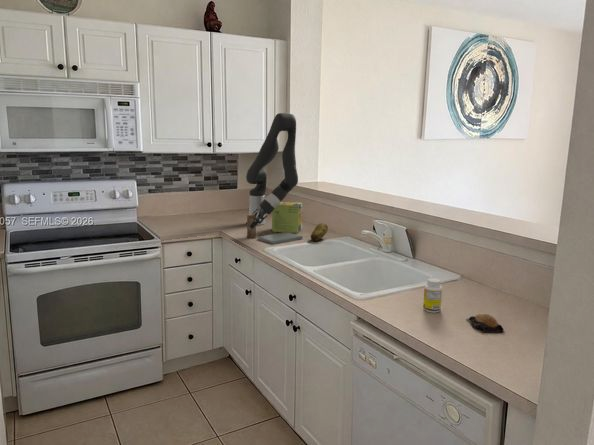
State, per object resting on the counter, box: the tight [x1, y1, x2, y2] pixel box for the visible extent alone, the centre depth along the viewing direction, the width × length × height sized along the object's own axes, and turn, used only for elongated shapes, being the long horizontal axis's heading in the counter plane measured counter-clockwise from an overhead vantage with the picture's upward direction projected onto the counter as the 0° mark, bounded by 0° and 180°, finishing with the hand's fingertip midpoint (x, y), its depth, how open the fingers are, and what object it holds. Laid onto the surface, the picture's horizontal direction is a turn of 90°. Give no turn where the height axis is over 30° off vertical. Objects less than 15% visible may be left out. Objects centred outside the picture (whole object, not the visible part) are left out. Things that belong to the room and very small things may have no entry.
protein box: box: [271, 201, 303, 234], centre depth 271 cm, size 10×15×16 cm
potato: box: [310, 223, 329, 242], centre depth 251 cm, size 8×13×8 cm, turn 134°
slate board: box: [257, 232, 303, 245], centre depth 251 cm, size 13×19×2 cm
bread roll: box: [465, 313, 506, 334], centre depth 144 cm, size 11×9×4 cm
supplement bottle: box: [423, 277, 443, 314], centre depth 155 cm, size 6×6×10 cm
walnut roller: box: [246, 213, 257, 240], centre depth 253 cm, size 5×5×12 cm
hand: (248, 226), depth 252 cm, fingers open, 7 cm apart
